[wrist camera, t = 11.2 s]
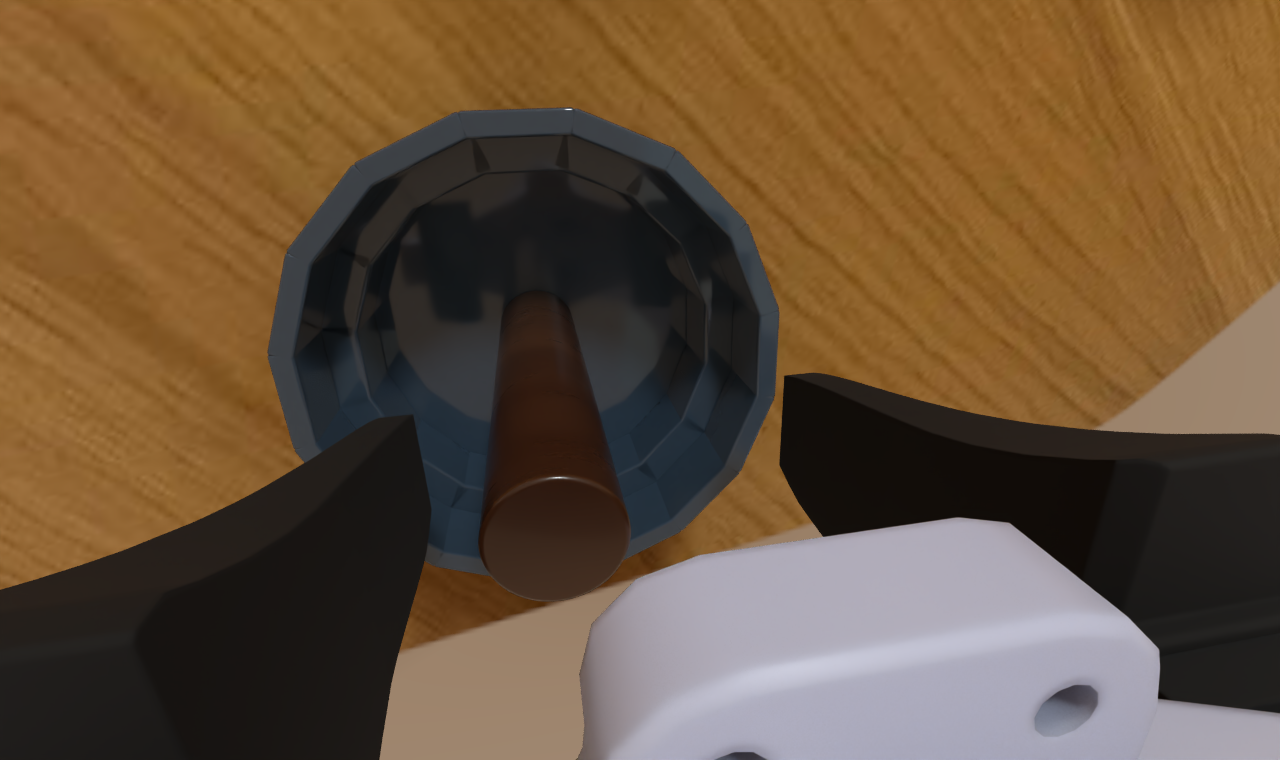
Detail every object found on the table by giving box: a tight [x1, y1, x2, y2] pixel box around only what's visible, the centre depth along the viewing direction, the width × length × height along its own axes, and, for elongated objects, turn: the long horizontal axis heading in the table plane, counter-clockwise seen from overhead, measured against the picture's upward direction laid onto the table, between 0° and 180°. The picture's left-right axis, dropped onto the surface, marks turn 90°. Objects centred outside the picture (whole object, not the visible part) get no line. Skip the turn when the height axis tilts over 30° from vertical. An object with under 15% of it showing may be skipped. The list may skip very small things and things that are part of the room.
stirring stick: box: [478, 291, 631, 601], centre depth 13 cm, size 2×2×10 cm
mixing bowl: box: [268, 107, 779, 576], centre depth 16 cm, size 11×11×4 cm
